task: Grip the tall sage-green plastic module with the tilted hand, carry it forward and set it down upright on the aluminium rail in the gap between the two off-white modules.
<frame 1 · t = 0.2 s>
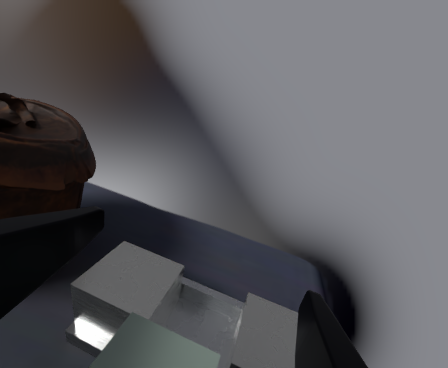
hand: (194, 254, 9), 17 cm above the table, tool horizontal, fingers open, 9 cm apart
brown flower pot: (11, 249, 26), on the table
rail: (193, 348, 21), on the table
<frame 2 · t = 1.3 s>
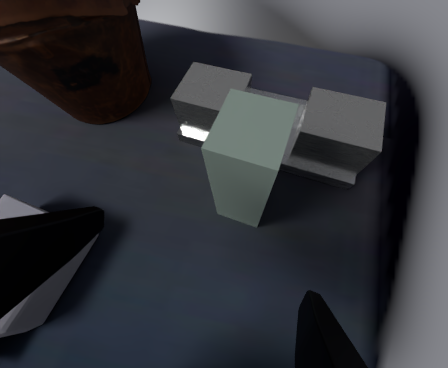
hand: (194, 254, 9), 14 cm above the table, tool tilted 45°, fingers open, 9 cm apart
charger: (23, 289, 22), on the table
brown flower pot: (109, 91, 33), on the table
module: (244, 200, 24), on the table
rail: (266, 138, 28), on the table
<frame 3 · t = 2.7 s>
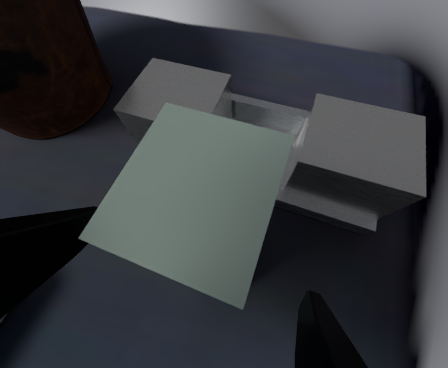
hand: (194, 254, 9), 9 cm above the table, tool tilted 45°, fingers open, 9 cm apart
brown flower pot: (59, 96, 26), on the table
module: (221, 249, 17), on the table
rail: (254, 159, 21), on the table
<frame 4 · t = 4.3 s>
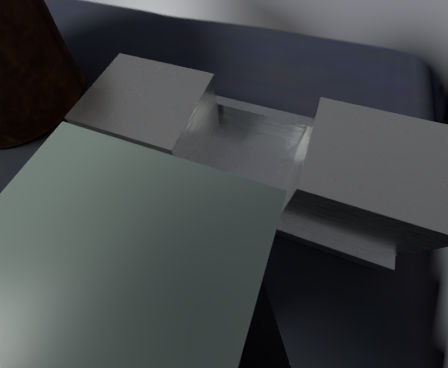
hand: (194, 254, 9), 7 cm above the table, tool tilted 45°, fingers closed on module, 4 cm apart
brown flower pot: (25, 99, 23), on the table
module: (203, 287, 14), on the table, touching gripper
rail: (245, 173, 18), on the table
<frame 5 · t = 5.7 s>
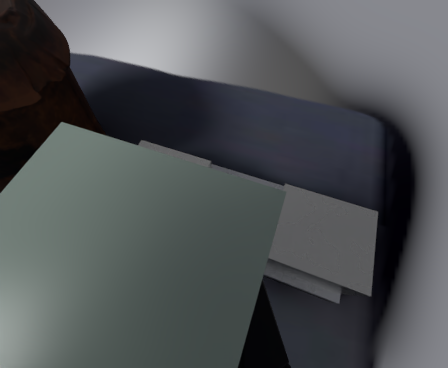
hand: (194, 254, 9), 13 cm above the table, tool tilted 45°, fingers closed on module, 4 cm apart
brown flower pot: (58, 152, 28), on the table
module: (203, 287, 14), point 7 cm above the table, touching gripper
rail: (235, 222, 23), on the table
when the fingers open (9 cm above the table, at t = 7.4 s): module drops 1 cm, resting on rail.
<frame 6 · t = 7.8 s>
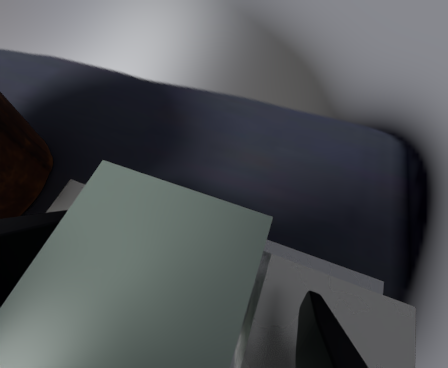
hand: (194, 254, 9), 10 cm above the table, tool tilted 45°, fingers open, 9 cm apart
module: (206, 287, 15), point 1 cm above the table, touching rail
rail: (209, 282, 17), on the table
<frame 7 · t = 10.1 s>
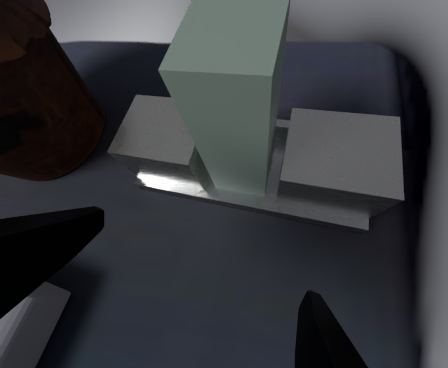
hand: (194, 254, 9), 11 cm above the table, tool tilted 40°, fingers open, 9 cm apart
brown flower pot: (60, 135, 28), on the table
module: (245, 167, 20), point 1 cm above the table, touching rail
rail: (246, 171, 22), on the table
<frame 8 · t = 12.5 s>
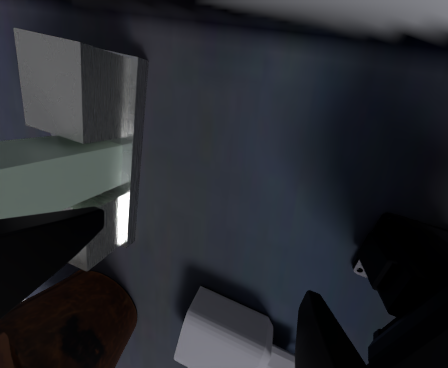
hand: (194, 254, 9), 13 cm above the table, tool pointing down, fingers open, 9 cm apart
charger: (248, 330, 28), on the table
brown flower pot: (103, 302, 34), on the table
module: (102, 159, 23), point 1 cm above the table, touching rail
rail: (110, 155, 25), on the table
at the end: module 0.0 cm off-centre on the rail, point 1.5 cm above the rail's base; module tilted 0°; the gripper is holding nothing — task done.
